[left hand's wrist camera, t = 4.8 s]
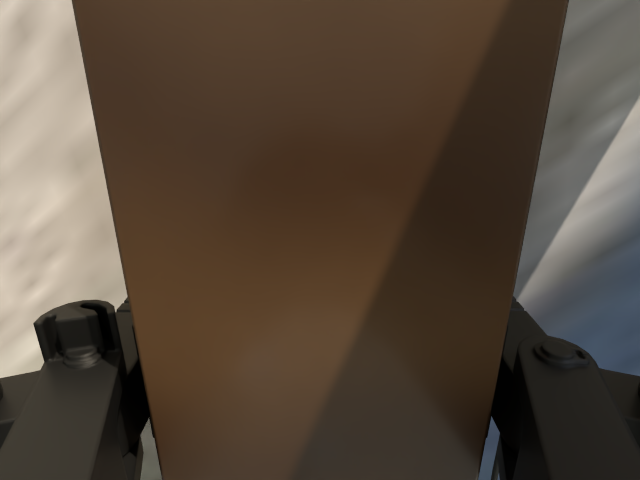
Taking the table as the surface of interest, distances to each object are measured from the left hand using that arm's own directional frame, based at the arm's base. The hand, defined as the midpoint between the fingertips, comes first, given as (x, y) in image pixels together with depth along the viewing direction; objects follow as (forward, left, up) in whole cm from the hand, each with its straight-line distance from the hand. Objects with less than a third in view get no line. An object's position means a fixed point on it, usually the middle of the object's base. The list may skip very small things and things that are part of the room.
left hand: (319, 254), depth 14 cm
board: (+11, +19, -1) cm, 21 cm away
